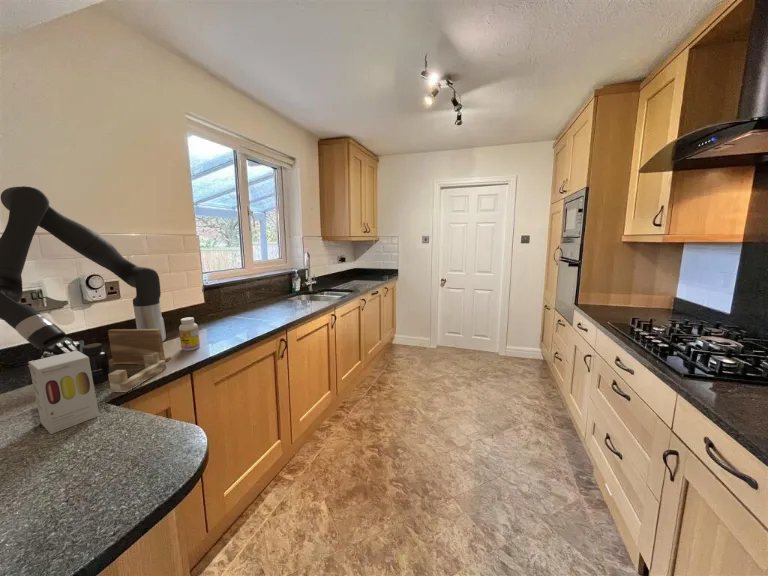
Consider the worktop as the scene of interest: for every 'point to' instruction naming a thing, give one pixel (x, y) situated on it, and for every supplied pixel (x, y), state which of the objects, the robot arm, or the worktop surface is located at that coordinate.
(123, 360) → the oak screen
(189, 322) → the supplement bottle
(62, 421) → the supplement box
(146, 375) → the stop bay
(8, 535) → the worktop surface
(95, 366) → the supplement bottle
